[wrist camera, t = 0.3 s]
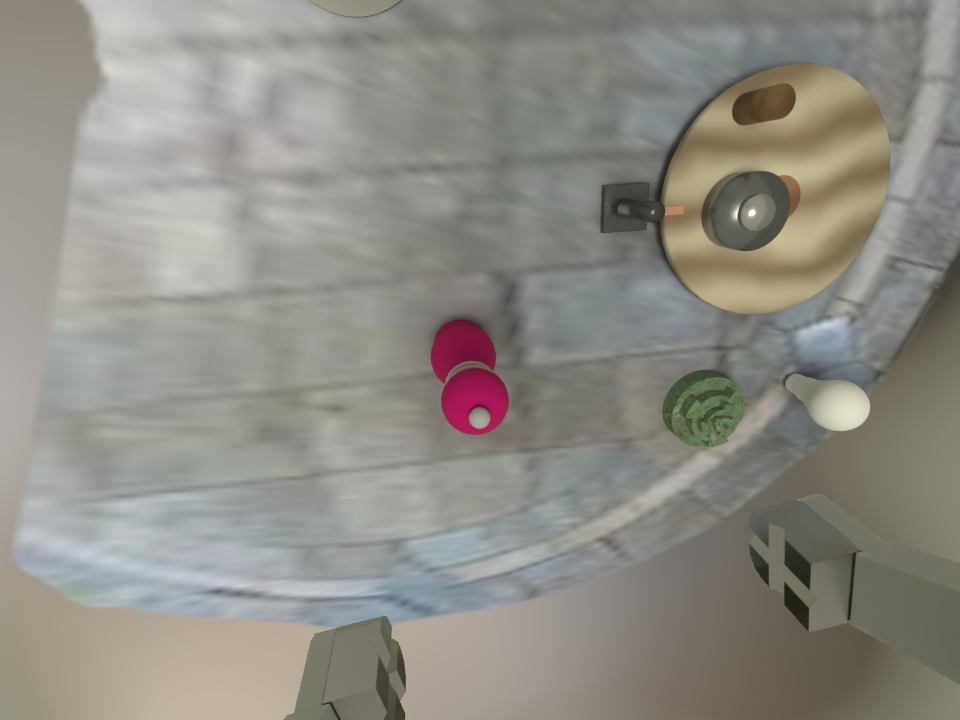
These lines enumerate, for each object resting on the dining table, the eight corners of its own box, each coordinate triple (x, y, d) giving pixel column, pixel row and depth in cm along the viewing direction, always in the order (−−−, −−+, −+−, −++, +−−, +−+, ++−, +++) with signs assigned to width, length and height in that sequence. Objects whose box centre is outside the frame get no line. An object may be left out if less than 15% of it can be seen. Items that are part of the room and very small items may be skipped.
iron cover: (698, 181, 51) (720, 181, 47) (770, 163, 51) (796, 161, 48) (703, 255, 54) (723, 260, 50) (770, 237, 54) (795, 241, 50)
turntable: (648, 99, 49) (681, 88, 43) (887, 39, 50) (952, 20, 44) (669, 334, 58) (698, 352, 52) (869, 280, 59) (921, 292, 53)
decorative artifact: (689, 358, 62) (648, 421, 65) (721, 379, 56) (674, 448, 58) (746, 386, 65) (704, 446, 67) (783, 409, 58) (735, 475, 61)
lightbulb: (760, 381, 64) (824, 419, 54) (796, 349, 63) (869, 382, 53) (782, 408, 66) (849, 449, 56) (818, 378, 65) (893, 414, 55)
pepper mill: (498, 327, 57) (538, 397, 39) (476, 380, 59) (504, 470, 41) (442, 307, 56) (455, 370, 37) (421, 362, 58) (423, 448, 39)
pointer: (600, 232, 55) (629, 240, 47) (602, 185, 53) (632, 186, 46) (646, 228, 55) (682, 236, 48) (649, 182, 54) (687, 182, 46)
